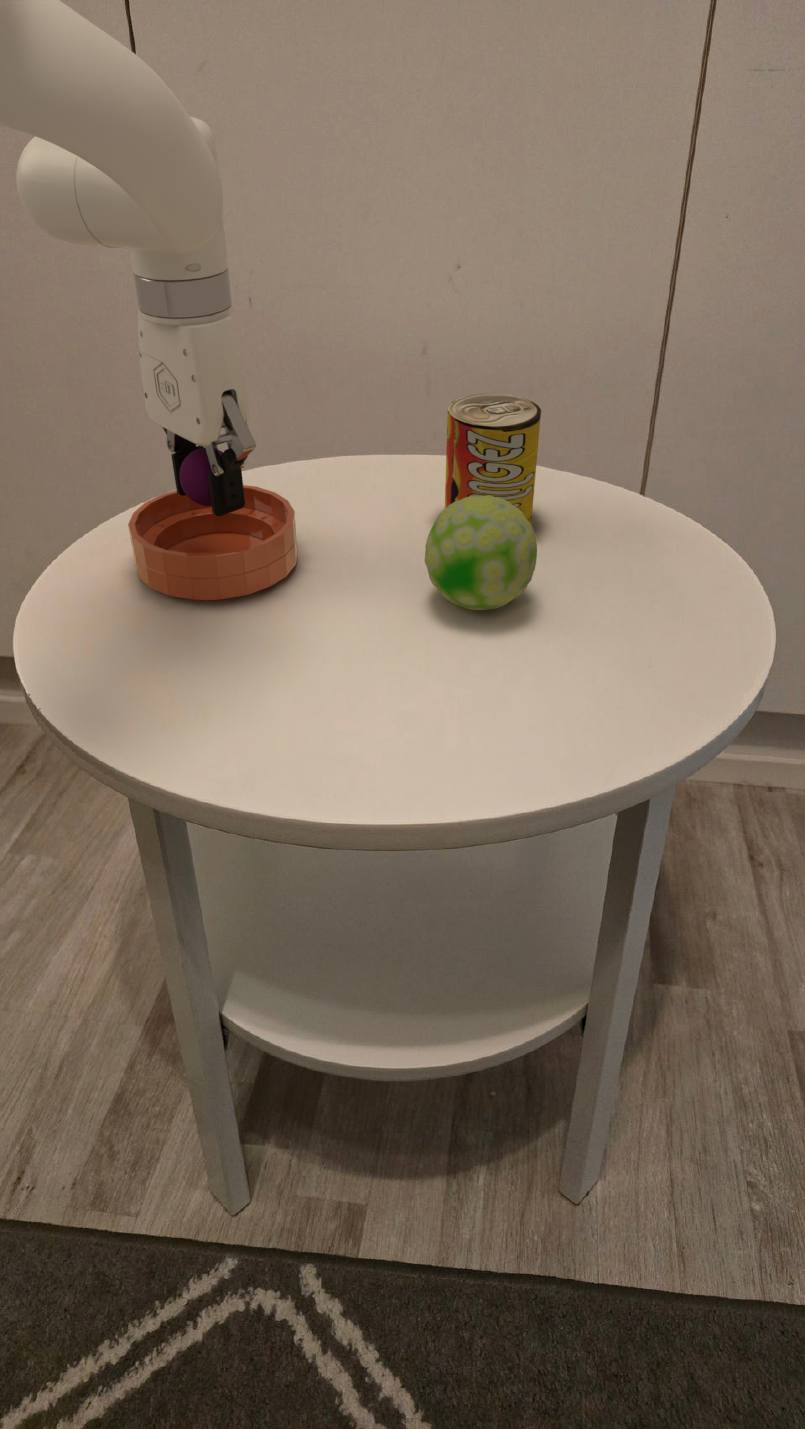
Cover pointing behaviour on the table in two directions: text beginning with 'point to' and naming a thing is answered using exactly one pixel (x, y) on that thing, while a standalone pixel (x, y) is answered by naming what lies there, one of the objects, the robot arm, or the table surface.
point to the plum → (196, 476)
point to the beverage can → (492, 449)
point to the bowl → (213, 545)
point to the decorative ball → (481, 552)
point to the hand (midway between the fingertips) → (210, 499)
